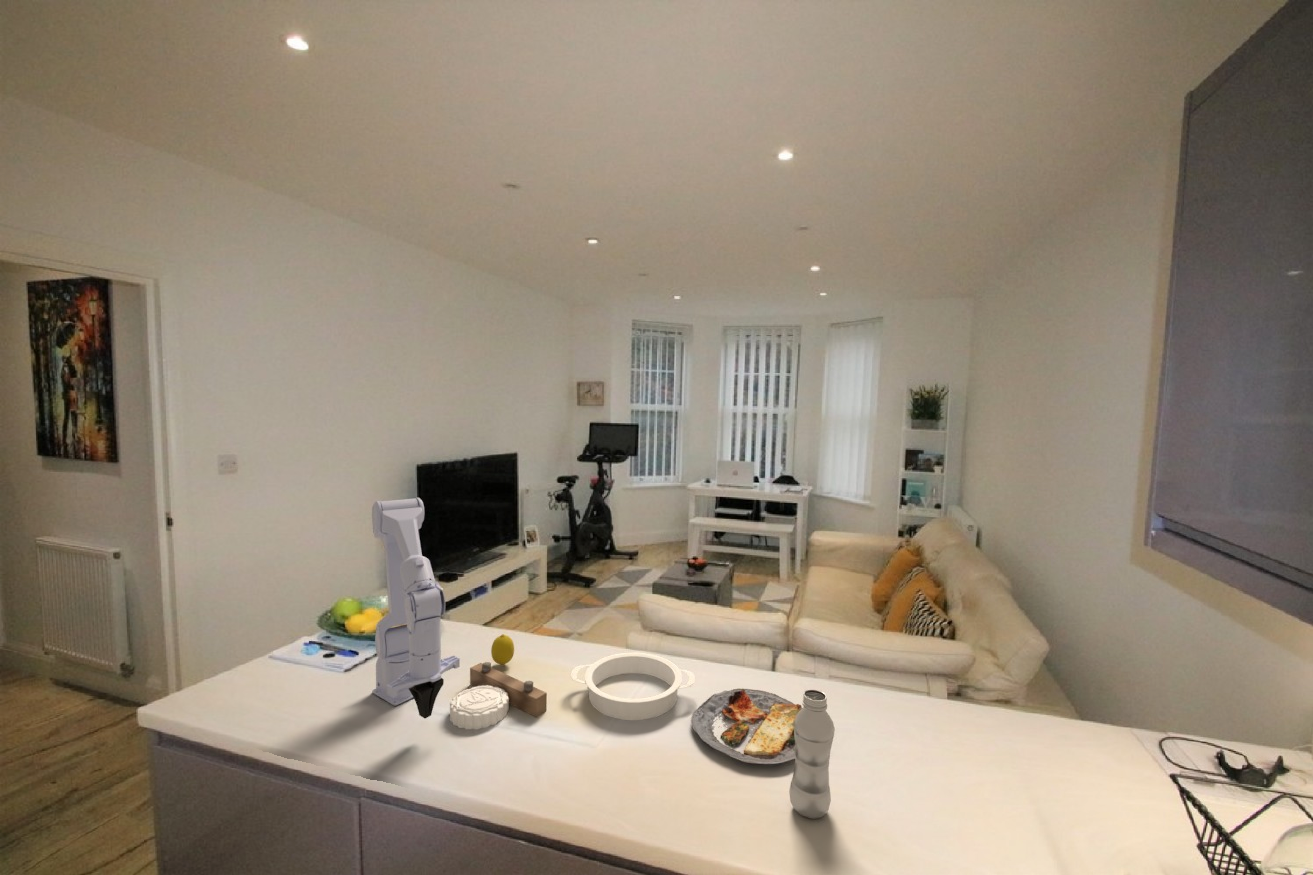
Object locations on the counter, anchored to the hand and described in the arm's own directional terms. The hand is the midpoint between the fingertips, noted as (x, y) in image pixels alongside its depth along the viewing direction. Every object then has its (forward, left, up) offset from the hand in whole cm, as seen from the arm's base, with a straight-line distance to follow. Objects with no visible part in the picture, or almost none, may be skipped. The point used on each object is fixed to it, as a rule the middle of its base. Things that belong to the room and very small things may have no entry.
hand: (425, 715), depth 108 cm
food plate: (+52, +41, -5) cm, 66 cm away
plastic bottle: (+69, +26, -4) cm, 74 cm away
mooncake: (+2, +11, -5) cm, 12 cm away
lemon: (-10, +28, -4) cm, 30 cm away
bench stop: (+2, +19, -4) cm, 19 cm away
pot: (+24, +37, -5) cm, 44 cm away
